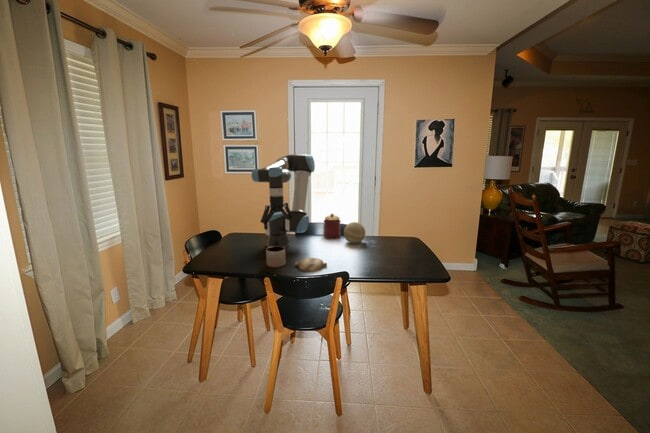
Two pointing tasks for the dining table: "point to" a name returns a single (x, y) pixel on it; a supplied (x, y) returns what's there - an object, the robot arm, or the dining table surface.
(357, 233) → the decorative ball
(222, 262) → the dining table surface
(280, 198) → the robot arm
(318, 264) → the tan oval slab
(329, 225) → the canister
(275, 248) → the planter
